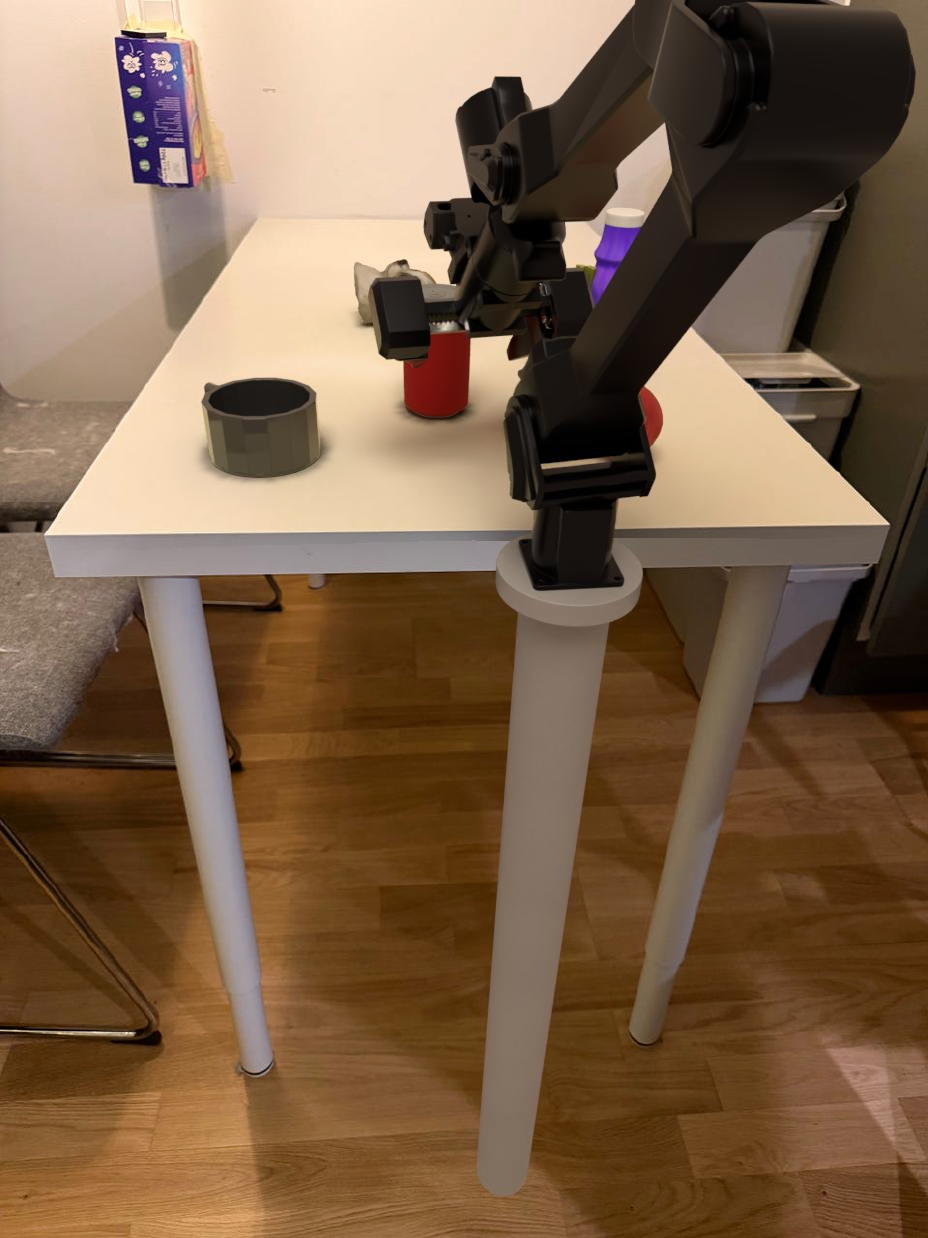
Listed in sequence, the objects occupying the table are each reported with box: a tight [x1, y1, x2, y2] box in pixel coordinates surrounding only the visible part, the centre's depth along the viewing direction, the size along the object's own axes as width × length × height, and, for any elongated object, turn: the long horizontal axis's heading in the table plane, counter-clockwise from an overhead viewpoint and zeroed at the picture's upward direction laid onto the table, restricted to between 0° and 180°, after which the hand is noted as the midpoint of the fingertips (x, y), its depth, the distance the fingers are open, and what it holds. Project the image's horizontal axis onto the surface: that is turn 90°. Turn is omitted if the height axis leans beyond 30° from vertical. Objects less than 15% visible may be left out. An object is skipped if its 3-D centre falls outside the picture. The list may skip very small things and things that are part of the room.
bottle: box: [591, 207, 645, 306], centre depth 98 cm, size 7×6×17 cm
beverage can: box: [402, 283, 472, 419], centre depth 89 cm, size 7×7×12 cm
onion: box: [640, 385, 664, 447], centre depth 80 cm, size 6×6×8 cm
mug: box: [200, 377, 321, 478], centre depth 81 cm, size 13×10×6 cm
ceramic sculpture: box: [353, 258, 438, 324], centre depth 112 cm, size 11×9×15 cm
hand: (462, 359), depth 81 cm, fingers open, 9 cm apart
